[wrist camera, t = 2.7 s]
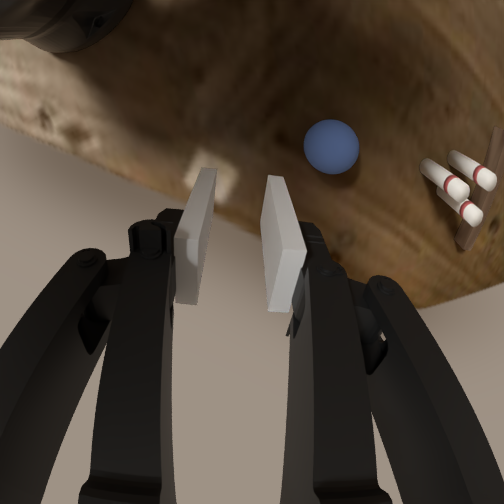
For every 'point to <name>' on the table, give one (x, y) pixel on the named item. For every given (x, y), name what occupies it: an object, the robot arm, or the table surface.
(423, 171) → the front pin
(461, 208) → the pin
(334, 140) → the ball
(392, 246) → the table surface
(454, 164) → the pin
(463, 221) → the back wall
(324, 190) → the table surface
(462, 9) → the table surface
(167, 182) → the table surface
